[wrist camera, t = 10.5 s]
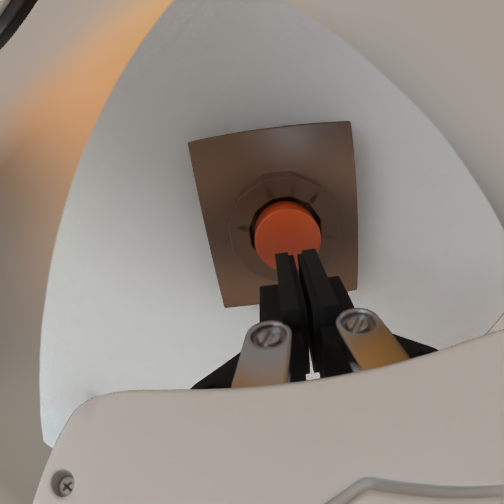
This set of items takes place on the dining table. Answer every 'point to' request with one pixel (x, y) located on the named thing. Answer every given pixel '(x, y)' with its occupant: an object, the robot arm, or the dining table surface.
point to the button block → (276, 199)
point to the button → (285, 231)
